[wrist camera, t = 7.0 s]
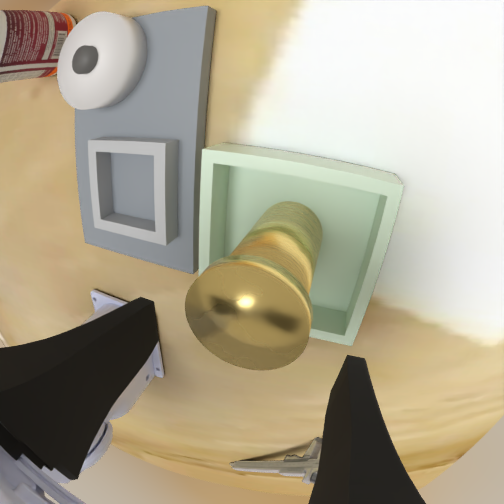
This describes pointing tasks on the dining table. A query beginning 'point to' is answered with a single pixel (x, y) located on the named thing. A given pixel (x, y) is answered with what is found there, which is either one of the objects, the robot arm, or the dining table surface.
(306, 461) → the caliper
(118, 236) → the board
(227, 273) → the lock pin
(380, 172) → the tray
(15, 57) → the pill bottle
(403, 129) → the dining table surface
